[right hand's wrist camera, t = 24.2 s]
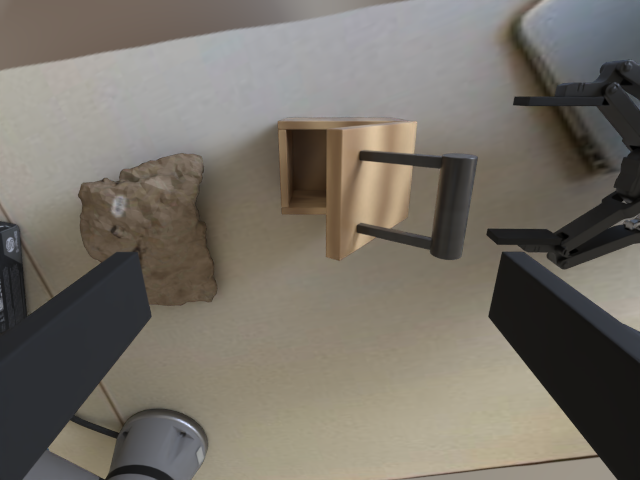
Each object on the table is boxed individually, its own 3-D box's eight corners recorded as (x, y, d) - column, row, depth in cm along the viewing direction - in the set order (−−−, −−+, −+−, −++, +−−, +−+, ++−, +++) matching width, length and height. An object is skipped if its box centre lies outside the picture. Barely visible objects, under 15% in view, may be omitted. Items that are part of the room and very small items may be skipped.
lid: (325, 257, 26) (445, 292, 21) (326, 128, 23) (469, 135, 18) (396, 215, 36) (489, 232, 31) (404, 121, 33) (511, 123, 28)
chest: (288, 194, 45) (281, 214, 37) (286, 117, 42) (277, 121, 33) (385, 193, 45) (400, 214, 37) (391, 117, 41) (409, 120, 33)
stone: (68, 149, 40) (45, 166, 35) (203, 146, 43) (199, 162, 38) (116, 291, 50) (103, 320, 45) (220, 280, 54) (219, 306, 49)
